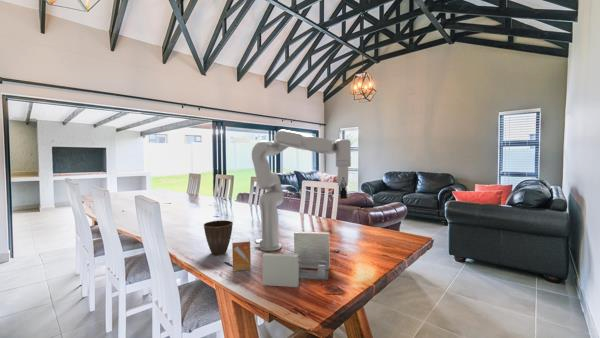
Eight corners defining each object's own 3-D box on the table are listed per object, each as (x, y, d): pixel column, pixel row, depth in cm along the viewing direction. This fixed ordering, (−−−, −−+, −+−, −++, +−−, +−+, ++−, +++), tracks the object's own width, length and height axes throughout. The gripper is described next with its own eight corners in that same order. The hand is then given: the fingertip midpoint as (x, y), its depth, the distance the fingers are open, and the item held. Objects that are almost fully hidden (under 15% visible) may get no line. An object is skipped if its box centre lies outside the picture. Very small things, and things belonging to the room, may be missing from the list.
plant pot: (237, 249, 157) (237, 220, 156) (226, 258, 142) (225, 227, 141) (212, 248, 159) (212, 220, 159) (199, 257, 145) (198, 226, 144)
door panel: (263, 285, 112) (262, 255, 111) (264, 282, 114) (264, 253, 114) (297, 287, 109) (297, 256, 109) (298, 284, 112) (298, 254, 111)
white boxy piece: (289, 278, 117) (288, 240, 117) (295, 265, 131) (294, 231, 130) (327, 280, 114) (326, 241, 114) (329, 267, 128) (329, 232, 128)
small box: (232, 271, 125) (231, 242, 125) (232, 266, 132) (232, 238, 131) (251, 269, 127) (250, 241, 127) (250, 264, 133) (249, 237, 133)
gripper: (336, 163, 152) (336, 194, 153) (335, 164, 135) (335, 199, 136) (350, 163, 151) (350, 195, 151) (351, 164, 134) (351, 199, 134)
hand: (343, 197), depth 143 cm, fingers open, 9 cm apart
